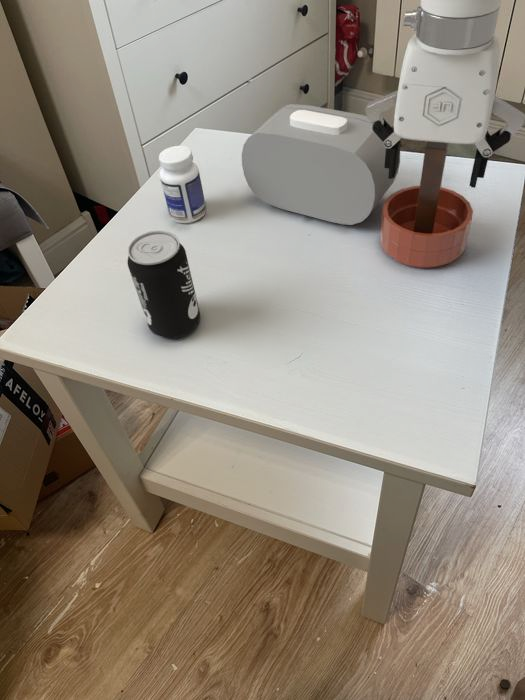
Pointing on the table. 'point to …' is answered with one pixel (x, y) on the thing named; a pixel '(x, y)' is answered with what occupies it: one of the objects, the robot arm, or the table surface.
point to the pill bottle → (181, 184)
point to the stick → (430, 186)
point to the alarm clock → (317, 163)
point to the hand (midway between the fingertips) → (432, 177)
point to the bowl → (422, 246)
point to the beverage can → (163, 283)
